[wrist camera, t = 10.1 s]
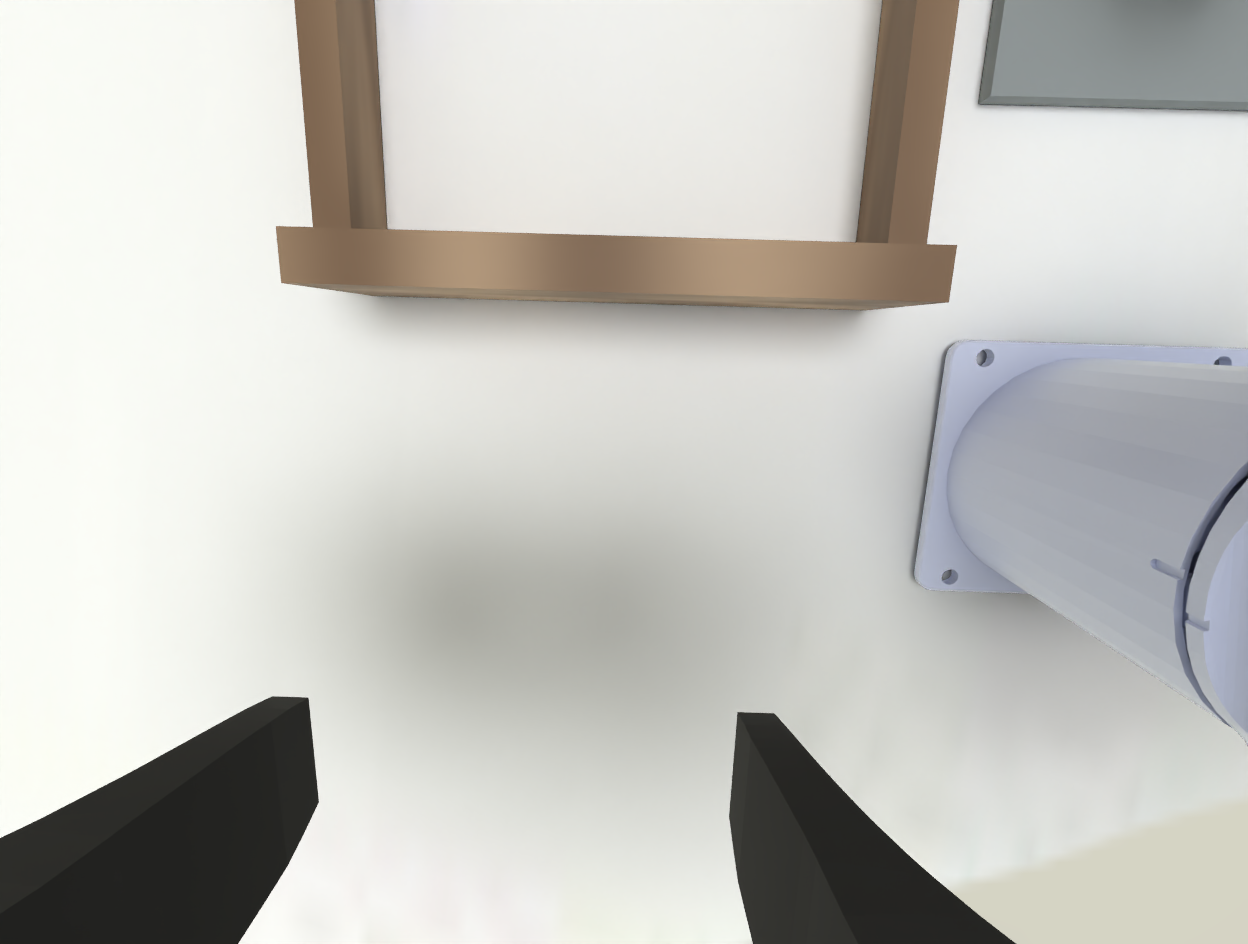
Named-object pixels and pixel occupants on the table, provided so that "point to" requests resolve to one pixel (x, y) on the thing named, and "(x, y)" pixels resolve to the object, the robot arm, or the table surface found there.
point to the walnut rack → (621, 265)
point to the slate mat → (1118, 54)
